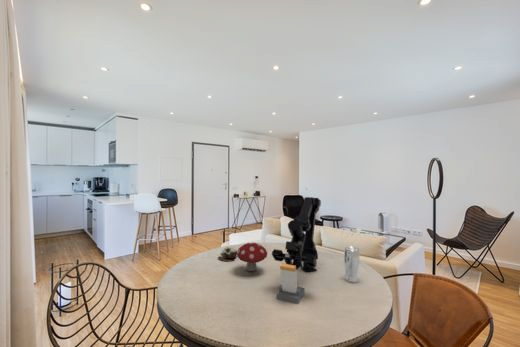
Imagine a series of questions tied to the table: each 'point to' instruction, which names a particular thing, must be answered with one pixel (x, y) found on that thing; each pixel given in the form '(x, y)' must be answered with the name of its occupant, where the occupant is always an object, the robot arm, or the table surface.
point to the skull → (228, 254)
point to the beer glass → (351, 264)
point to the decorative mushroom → (251, 254)
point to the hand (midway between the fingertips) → (289, 277)
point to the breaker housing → (291, 295)
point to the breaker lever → (288, 278)
